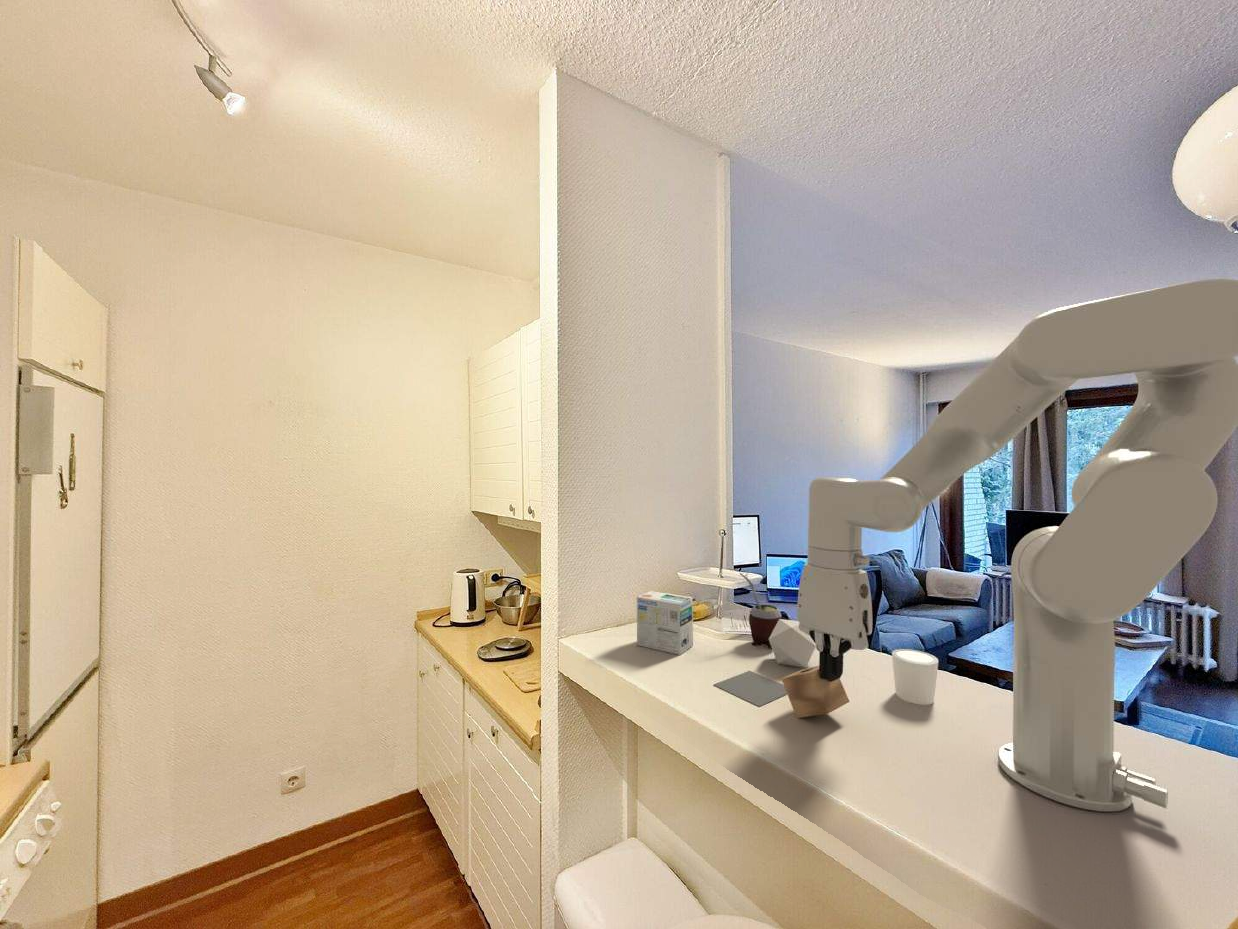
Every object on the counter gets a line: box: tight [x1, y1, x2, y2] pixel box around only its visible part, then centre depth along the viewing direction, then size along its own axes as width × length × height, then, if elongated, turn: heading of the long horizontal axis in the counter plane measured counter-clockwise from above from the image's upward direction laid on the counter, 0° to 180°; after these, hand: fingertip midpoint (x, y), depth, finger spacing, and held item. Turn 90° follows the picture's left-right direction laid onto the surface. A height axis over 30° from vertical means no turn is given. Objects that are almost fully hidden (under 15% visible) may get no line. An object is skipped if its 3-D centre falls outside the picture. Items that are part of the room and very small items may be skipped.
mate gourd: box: [739, 572, 783, 650], centre depth 111 cm, size 8×8×15 cm
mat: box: [713, 670, 788, 708], centre depth 89 cm, size 10×10×1 cm
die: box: [769, 618, 816, 669], centre depth 100 cm, size 8×9×10 cm
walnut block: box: [781, 665, 850, 719], centre depth 80 cm, size 6×6×6 cm
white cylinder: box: [891, 648, 939, 706], centre depth 86 cm, size 7×7×7 cm
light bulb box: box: [636, 590, 694, 656], centre depth 109 cm, size 11×7×11 cm, turn 58°
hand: (830, 677), depth 77 cm, fingers closed
